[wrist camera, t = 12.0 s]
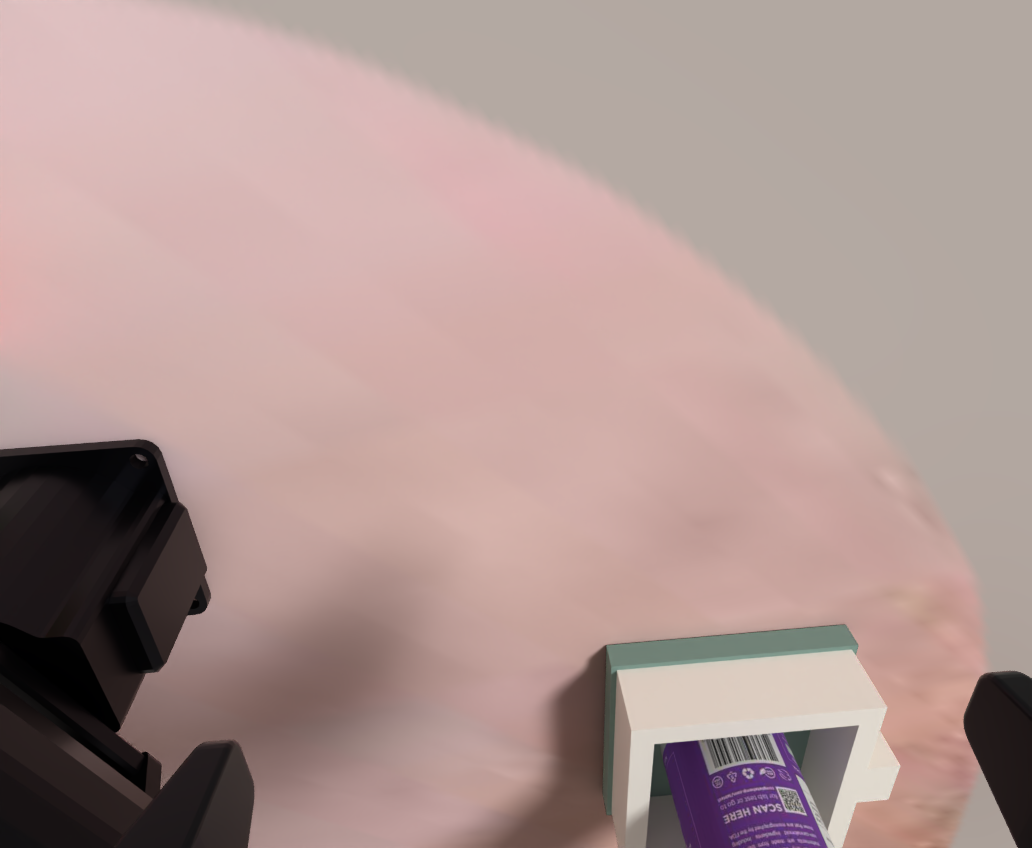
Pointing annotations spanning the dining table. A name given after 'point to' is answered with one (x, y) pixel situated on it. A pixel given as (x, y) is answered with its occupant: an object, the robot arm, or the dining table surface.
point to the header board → (742, 720)
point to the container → (742, 794)
